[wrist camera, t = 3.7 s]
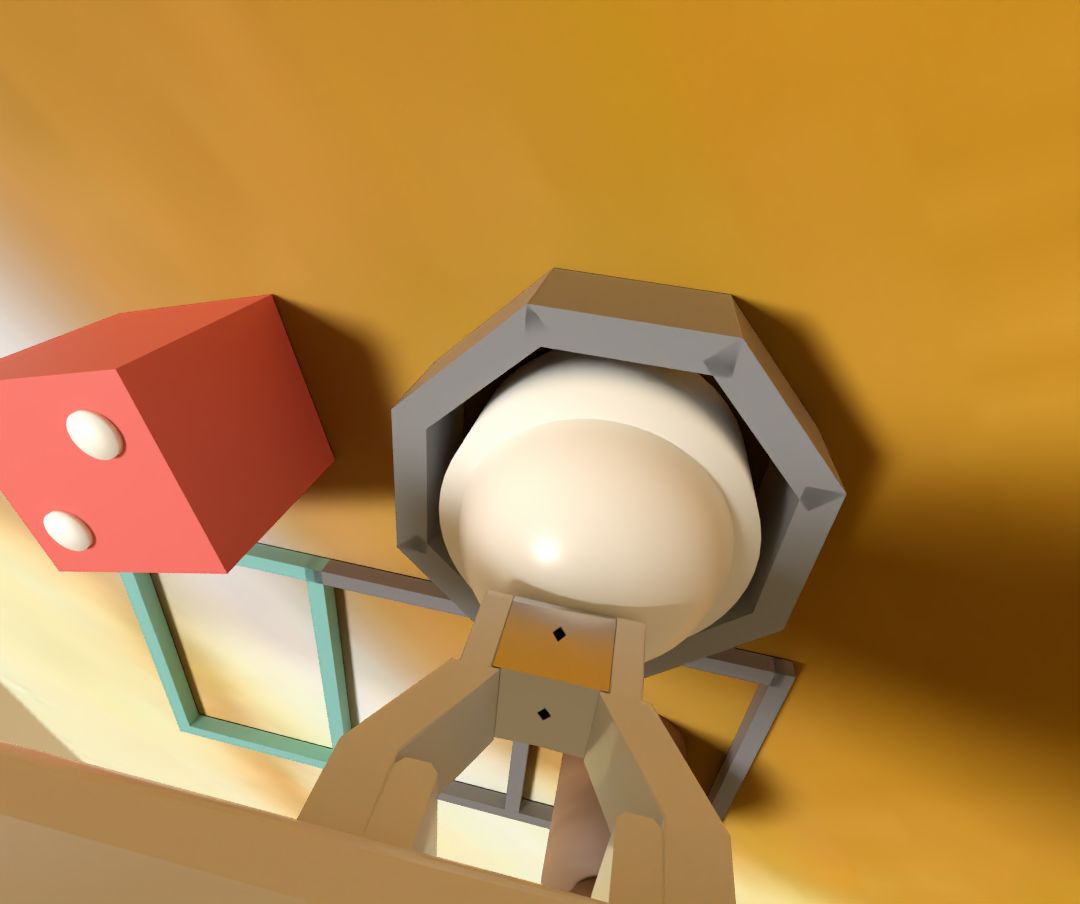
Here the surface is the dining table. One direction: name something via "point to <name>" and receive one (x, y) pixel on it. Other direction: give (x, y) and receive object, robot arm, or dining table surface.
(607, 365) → the dome
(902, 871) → the dining table surface
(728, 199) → the dining table surface
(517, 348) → the dome housing
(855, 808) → the dining table surface
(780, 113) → the dining table surface
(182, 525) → the red die
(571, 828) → the pawn
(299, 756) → the frame
